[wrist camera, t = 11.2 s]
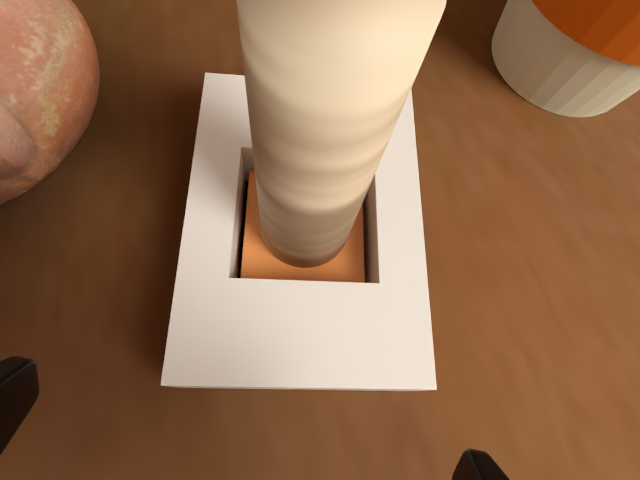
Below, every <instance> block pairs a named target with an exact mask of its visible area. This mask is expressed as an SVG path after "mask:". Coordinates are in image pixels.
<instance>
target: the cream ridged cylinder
mask: <svg viewBox="0 0 640 480" xmlns="http://www.w3.org/2000/svg"><path fill="white" fill-rule="evenodd" d="M236 1H237V11H238V20H239V29H240V39H241V48H242V57H243V67H244V76H245V85H246V95H247V104H248V113H249V123H250V132H251V141H252V151H253V160H254V170H255V179H256V188H257V198H258V207H259V216H260V226H261V234H262V238H263V241H264V243H265V245H266V247H267V248H268V250H269V251H270V252H271V253H272V254H273V255H274V256H275V257H276V258H277V259H279V260H280V261H282V262H284V263H285V264H288V265H290V266H294V267H299V268H312V267H317V266H321V265H323V264H326V263H327V262H329V261H331V260H332V259H333V258H335V257H336V256H337V255H338V254H339V253H340V251H341V250H342V248H343V247H344V245H345V243H346V240H347V238H348V236H349V233H350V231H351V229H352V226H353V224H354V221H355V219H356V217H357V214H358V212H359V210H360V207H361V205H362V203H363V200H364V198H365V196H366V193H367V191H368V189H369V186H370V184H371V182H372V179H373V177H374V174H375V172H376V170H377V167H378V165H379V163H380V160H381V158H382V156H383V153H384V151H385V149H386V146H387V144H388V142H389V139H390V137H391V134H392V132H393V130H394V127H395V125H396V123H397V120H398V118H399V116H400V113H401V111H402V109H403V106H404V104H405V102H406V99H407V97H408V95H409V92H410V90H411V87H412V85H413V83H414V80H415V78H416V76H417V73H418V71H419V69H420V66H421V64H422V62H423V59H424V57H425V55H426V52H427V50H428V48H429V45H430V43H431V40H432V38H433V36H434V33H435V31H436V29H437V26H438V24H439V22H440V19H441V17H442V14H443V12H444V9H445V7H446V1H447V0H236Z"/></svg>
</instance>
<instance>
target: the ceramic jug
mask: <svg viewBox="0 0 640 480" xmlns="http://www.w3.org/2000/svg"><path fill="white" fill-rule="evenodd" d="M99 86H100V68H99V60H98V54H97V50H96V46H95V43H94V40H93V37H92V34H91V32H90V30H89V27H88V25H87V23H86V21H85V19H84V18H83V16H82V14H81V13H80V11H79V10H78V8H77V7H76V5H75V4H74V3H73V1H72V0H0V205H2V204H4V203H6V202H8V201H10V200H12V199H14V198H16V197H18V196H20V195H22V194H24V193H25V192H27V191H28V190H29V189H31V188H32V187H34V186H35V185H37V184H38V183H39V182H41V181H42V180H44V179H45V178H46V177H47V176H49V175H50V174H51V173H52V172H53V171H55V170H56V169H57V168H58V167H59V165H60V164H61V163H62V162H63V160H64V159H65V158H66V157H67V156H68V155H69V154H70V152H71V151H72V150H73V149H74V147H75V146H76V145H77V143H78V142H79V140H80V139H81V137H82V136H83V134H84V132H85V130H86V128H87V127H88V125H89V122H90V120H91V118H92V116H93V113H94V110H95V107H96V103H97V99H98V94H99Z"/></svg>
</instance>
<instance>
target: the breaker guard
mask: <svg viewBox="0 0 640 480" xmlns="http://www.w3.org/2000/svg"><path fill="white" fill-rule="evenodd" d="M250 171H255V170H254V160H253V151H252V141H251V132H250V123H249V113H248V104H247V95H246V85H245V76H242V75H229V74H216V73H205V78H204V85H203V92H202V99H201V106H200V113H199V120H198V127H197V134H196V141H195V148H194V155H193V162H192V169H191V176H190V183H189V190H188V197H187V204H186V211H185V218H184V225H183V232H182V239H181V246H180V253H179V260H178V267H177V274H176V281H175V288H174V295H173V302H172V309H171V316H170V322H169V329H168V336H167V343H166V350H165V357H164V364H163V371H162V378H161V385H160V386H169V387H178V388H236V389H303V390H370V391H424V390H437V386H436V374H435V362H434V351H433V339H432V327H431V315H430V304H429V292H428V280H427V268H426V256H425V245H424V233H423V221H422V209H421V197H420V186H419V174H418V162H417V150H416V139H415V127H414V115H413V103H412V91H411V90H410V92H409V95H408V97H407V99H406V102H405V104H404V106H403V109H402V111H401V113H400V116H399V118H398V120H397V123H396V125H395V127H394V130H393V132H392V134H391V137H390V139H389V142H388V144H387V146H386V149H385V151H384V153H383V156H382V158H381V160H380V163H379V165H378V167H377V170H376V172H375V174H374V177H373V179H372V182H371V184H370V186H369V189H368V191H367V193H366V196H365V198H364V200H363V239H364V275H365V283H355V282H328V281H301V280H274V279H247V278H238V267H239V255H240V244H241V232H242V221H243V209H244V198H245V186H246V180H247V181H249V172H250Z"/></svg>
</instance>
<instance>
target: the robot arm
mask: <svg viewBox="0 0 640 480" xmlns="http://www.w3.org/2000/svg"><path fill="white" fill-rule="evenodd" d="M38 395H39V381H38V370H37V363H36V362H35V361H34V360H32V359H28V358H23V357H18V356H14V357H10V358H7V359H5V360H2V361H0V455H1V453H2V452H3V450H4V449H5V447H6V446H7V444H8V443H9V441H10V440H11V438H12V437H13V435H14V434H15V432H16V431H17V429H18V428H19V426H20V425H21V423H22V422H23V420H24V419H25V417H26V416H27V414H28V413H29V411H30V410H31V408H32V406H33V405H34V403H35V402H36V400H37V398H38ZM452 480H510V479H509V478H508V477H507V476H506V474H505V473H504V472H503V471H502V470H501V469H500V467H499V466H498V465H497V464H496V463H495V461H494V460H493V459H492V458H491V457H490V456H489V454H487V453H486V452H484V451H479V450H474V449H466V450H465V451H464V452H463V454H462V456H461V458H460V460H459V462H458V464H457V466H456V469H455V471H454V473H453V476H452Z"/></svg>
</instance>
